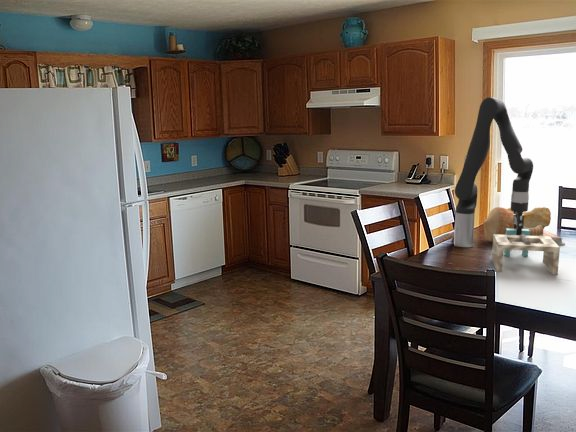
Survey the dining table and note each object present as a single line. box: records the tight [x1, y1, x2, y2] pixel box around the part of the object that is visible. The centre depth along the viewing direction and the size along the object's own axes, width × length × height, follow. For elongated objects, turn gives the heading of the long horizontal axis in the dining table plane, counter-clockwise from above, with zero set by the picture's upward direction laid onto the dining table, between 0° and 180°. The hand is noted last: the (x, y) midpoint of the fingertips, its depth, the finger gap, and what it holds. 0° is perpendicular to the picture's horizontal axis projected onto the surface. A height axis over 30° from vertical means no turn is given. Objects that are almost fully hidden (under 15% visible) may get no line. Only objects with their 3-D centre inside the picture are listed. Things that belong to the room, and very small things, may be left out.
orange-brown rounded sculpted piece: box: [482, 206, 544, 244], centre depth 288 cm, size 20×19×30 cm
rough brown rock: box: [507, 206, 552, 230], centre depth 313 cm, size 23×16×15 cm
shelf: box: [491, 234, 561, 276], centre depth 245 cm, size 24×20×13 cm
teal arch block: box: [503, 228, 530, 258], centre depth 264 cm, size 10×4×12 cm, turn 76°
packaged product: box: [543, 229, 566, 246], centre depth 291 cm, size 18×5×10 cm
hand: (517, 234), depth 263 cm, fingers open, 8 cm apart
